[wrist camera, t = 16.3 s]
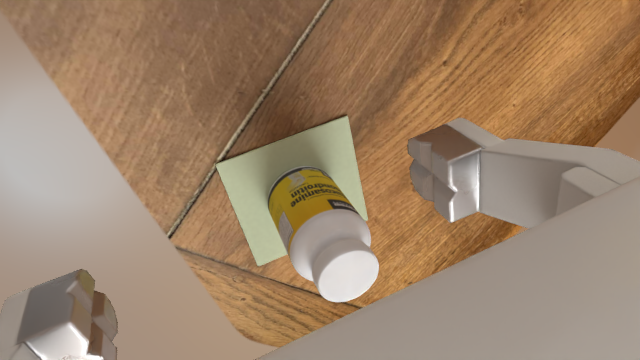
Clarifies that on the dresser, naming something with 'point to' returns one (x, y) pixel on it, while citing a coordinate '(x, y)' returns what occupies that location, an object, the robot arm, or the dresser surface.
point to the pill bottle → (323, 233)
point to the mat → (275, 159)
